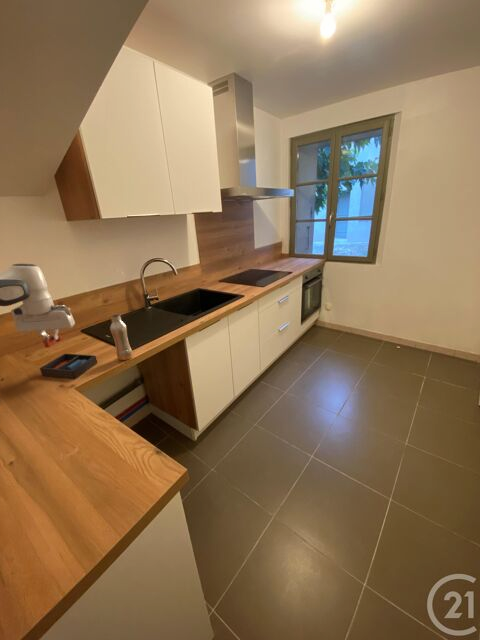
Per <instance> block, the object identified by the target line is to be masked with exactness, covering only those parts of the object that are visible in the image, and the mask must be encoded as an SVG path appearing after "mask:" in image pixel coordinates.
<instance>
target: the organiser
mask: <svg viewBox="0 0 480 640" xmlns="http://www.w3.org/2000/svg"><path fill="white" fill-rule="evenodd" d="M84 359H85V360H87V361H86V362H84V363H83V364H81V365H80V366H78V367H77V368H75V369H74V370H68V368H67V367H68V366H69V365H71V364H72V363H74V362H75V361H77V360H84ZM97 364H98V360H97V357H96V355H91V354H78V353H77V354H76V353H63V354H61V355H60V356H58V357H56V358H55V359H53V360H50V361H49V362H48V363H46V364H44V365H43V366H40V368H39V371H40V373H41V376H43V377H49V376H50V378H58V379H59V378H60V379H69V380H71V379H72V380H76V379H78V378H79V377H80V376H82V375H83V374H85V373H86V372H87V371H88V370H90V369H92V368H93V367H94V366H95V365H97Z"/></svg>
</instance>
